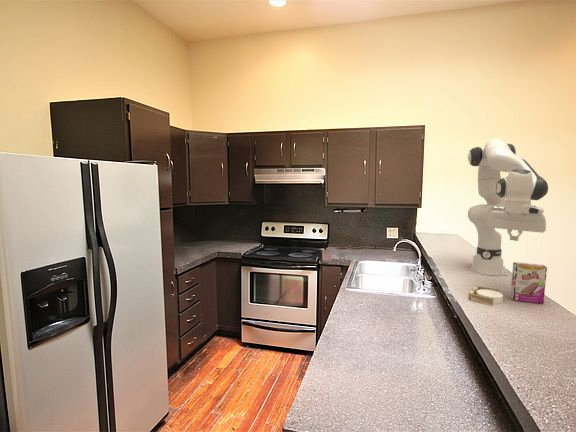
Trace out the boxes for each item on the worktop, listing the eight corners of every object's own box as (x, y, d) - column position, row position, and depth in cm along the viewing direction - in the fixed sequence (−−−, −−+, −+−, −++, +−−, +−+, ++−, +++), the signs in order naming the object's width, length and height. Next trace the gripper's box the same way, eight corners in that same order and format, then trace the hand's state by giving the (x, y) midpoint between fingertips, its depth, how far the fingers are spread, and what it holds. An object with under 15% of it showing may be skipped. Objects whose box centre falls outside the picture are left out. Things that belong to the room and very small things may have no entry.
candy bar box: (513, 301, 138) (516, 264, 136) (509, 297, 143) (512, 261, 141) (544, 304, 134) (547, 266, 133) (539, 300, 139) (542, 264, 137)
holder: (476, 291, 150) (476, 285, 150) (499, 296, 144) (499, 290, 144) (467, 300, 139) (468, 293, 139) (492, 305, 133) (492, 299, 133)
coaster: (496, 297, 144) (496, 289, 144) (507, 305, 134) (507, 297, 134) (472, 295, 146) (472, 288, 145) (481, 303, 136) (482, 295, 136)
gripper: (487, 206, 138) (484, 238, 140) (547, 210, 125) (543, 245, 127) (489, 205, 143) (487, 236, 145) (548, 209, 129) (544, 242, 131)
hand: (513, 240), depth 136 cm, fingers closed
